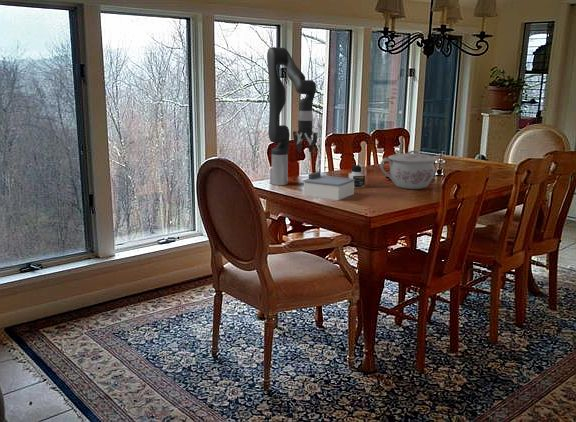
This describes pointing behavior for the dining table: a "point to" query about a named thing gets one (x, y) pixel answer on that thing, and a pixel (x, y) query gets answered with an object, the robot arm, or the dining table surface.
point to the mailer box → (328, 190)
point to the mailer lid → (327, 179)
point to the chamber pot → (410, 169)
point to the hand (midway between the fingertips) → (304, 151)
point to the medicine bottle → (357, 176)
